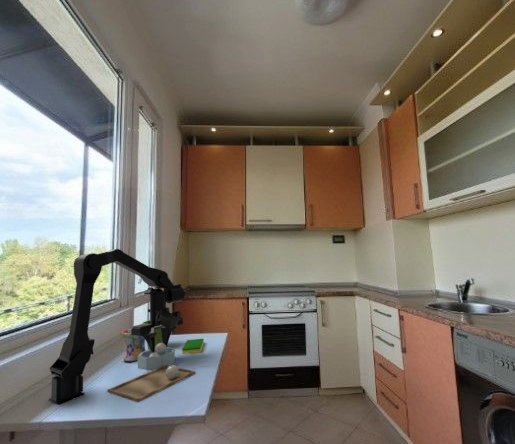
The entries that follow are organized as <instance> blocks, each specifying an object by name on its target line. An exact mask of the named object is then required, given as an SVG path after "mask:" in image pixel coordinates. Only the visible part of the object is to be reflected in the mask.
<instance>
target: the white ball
mask: <svg viewBox="0 0 515 444" xmlns="http://www.w3.org/2000/svg"><path fill="white" fill-rule="evenodd" d="M157 356H159V354H158V353H156V352H154V353H152V354H150V356H149V357H157Z"/></svg>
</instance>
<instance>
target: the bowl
mask: <svg viewBox="0 0 515 444" xmlns="http://www.w3.org/2000/svg"><path fill="white" fill-rule="evenodd" d="M155 352H156V351H155ZM152 353H154V352H152V351H151V349H150V350H149V349H147V350H146V351H144V352H141V353H140V354H139V356H138V361H137V369H140V370H145V371H149V370H150V371H153V370H155V369H158V368H160V367H163V366H165V365H167V366H171V365H174V364H175V360H176V348H175V347H168V346H167V348H166V351H165V352H164V353H163V354H159V356H157V357H149V356H150V354H152Z"/></svg>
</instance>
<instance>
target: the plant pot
mask: <svg viewBox="0 0 515 444" xmlns="http://www.w3.org/2000/svg"><path fill="white" fill-rule="evenodd" d="M148 321H150V319H149V320H145V321H142V322H141V324H146V325H150V324H148ZM154 332H155V333H157V334H156V336H155V347H156V345H157V344H159V343H163V341H162V333H161V327H160V328H156V329H154ZM146 344H147V345H146V346H147V350H150V347H149V345H148V343H147V342H146Z"/></svg>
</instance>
